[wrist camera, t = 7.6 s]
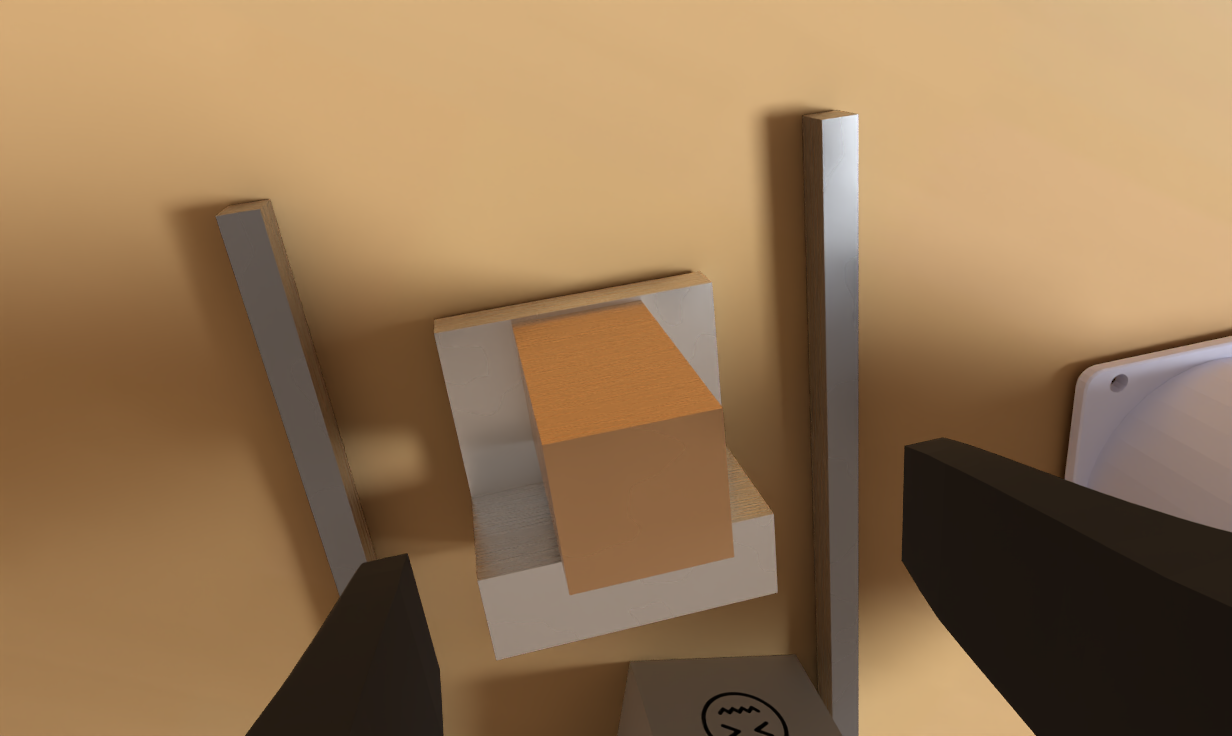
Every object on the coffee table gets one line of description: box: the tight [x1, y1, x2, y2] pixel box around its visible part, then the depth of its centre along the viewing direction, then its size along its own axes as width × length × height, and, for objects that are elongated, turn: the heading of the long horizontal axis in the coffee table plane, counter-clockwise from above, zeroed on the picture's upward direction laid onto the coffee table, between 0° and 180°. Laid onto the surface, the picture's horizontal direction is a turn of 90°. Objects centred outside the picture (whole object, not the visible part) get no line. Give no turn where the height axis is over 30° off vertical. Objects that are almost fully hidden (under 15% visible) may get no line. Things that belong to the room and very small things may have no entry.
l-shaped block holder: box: [434, 271, 778, 660], centre depth 16 cm, size 6×6×6 cm
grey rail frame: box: [215, 110, 858, 736], centre depth 19 cm, size 13×24×5 cm, turn 7°
